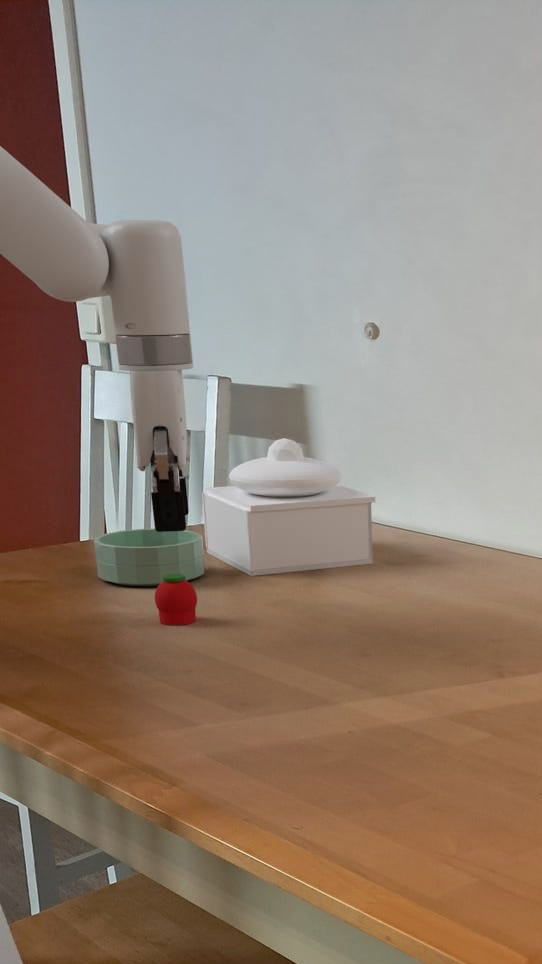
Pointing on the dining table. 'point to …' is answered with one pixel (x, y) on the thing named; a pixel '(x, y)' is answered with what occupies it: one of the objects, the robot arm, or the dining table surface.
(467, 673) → the dining table surface
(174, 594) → the strawberry
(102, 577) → the dessert bowl
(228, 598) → the dining table surface
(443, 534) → the dining table surface
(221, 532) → the white lidded box
